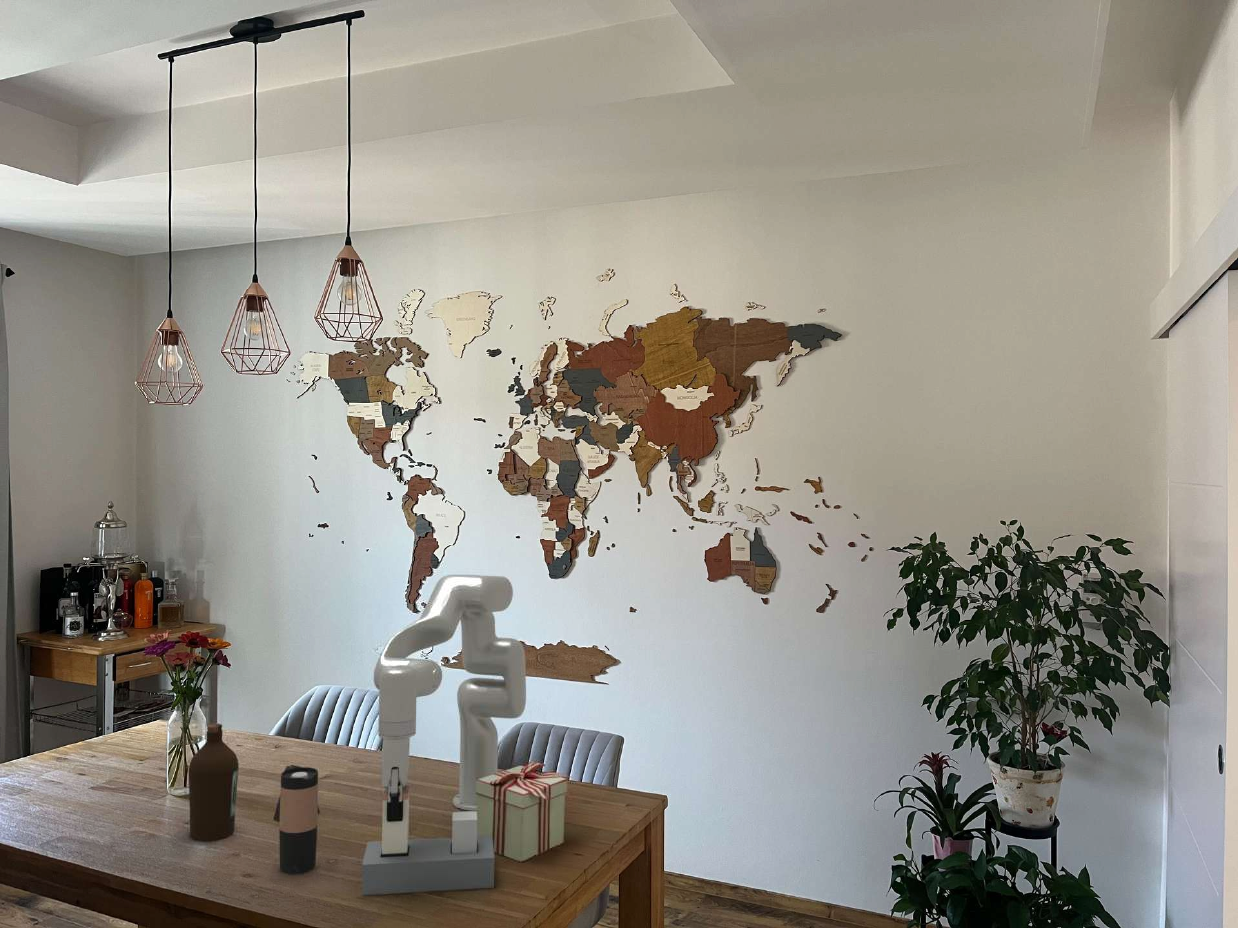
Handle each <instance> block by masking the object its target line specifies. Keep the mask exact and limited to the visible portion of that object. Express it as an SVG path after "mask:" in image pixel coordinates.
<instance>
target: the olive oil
mask: <svg viewBox="0 0 1238 928" xmlns="http://www.w3.org/2000/svg"><path fill="white" fill-rule="evenodd" d="M206 728H207V730H206V741H205V743H204V744H203V745H202V746H201V747H200V748H199V749H198V751H197V752H196V753H194V755H193V757H192V758H191V760H190V762H189V765H188V769H187V770H188V771H187V772H188V793H189V795H188V796H189V837H190V839H191V840H193V841H197V842H213V841H214V842H215V841H219V840H223V839H227V838H228V837H230V836H231V835H233V833H234V832H235V826H236V825H235V824H236V822H235V820H236V809H237V796H238V795H237V792H238V778H239V766H240V765H239V760H238V757H237V753H235V751H234V750H233V749H231V747H229V746H228V745H227V744H226V743H225V742H224V741H223V729H222V728H223V724H222V723H210V724H208V725H207V727H206Z"/></svg>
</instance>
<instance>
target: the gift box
mask: <svg viewBox="0 0 1238 928" xmlns="http://www.w3.org/2000/svg"><path fill="white" fill-rule="evenodd" d="M545 766H546V764H544V763H540V762H532V761H530V762H528V763H527V764H526V765H525V766H523V765H517V766H515V767H512V768H508V769H506V770H502V771H500V772H497V773H496V774H493V775H490V776H487V777H484V778H481V779H478V780H476V794H477V836H492V839H493V849H494V854H495V853H496V854H499V855H501V856H505V857H507V858H509V859H512V860H514V861H517V862H519V861H520V863H523V862H525V861H527V860H529V858H530V859H532V858H534V857H535V856H534V855H536V856H538V855H537V854H539V855H541V854H543V853H544V852H543V851H545V850H548V849H550V848H552V847H554V846H556V845H559V846H560V844H561V843H563V844H564V835H565V834H564V833H565V805H566V804H565V801H566V793H567V792H568V779H567V778H571V776H569V775H564V774H562V773H559V772H554V771H541V770H538V769H540V768H542V767H545ZM561 845H562V844H561ZM556 847H557V846H556ZM554 848H555V847H554ZM552 849H553V848H552ZM550 850H551V849H550ZM548 851H549V850H548ZM542 852H543V853H542ZM545 852H546V851H545ZM540 853H541V854H540ZM533 856H534V857H533ZM531 857H532V858H531ZM522 861H523V862H522Z"/></svg>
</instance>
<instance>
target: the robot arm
mask: <svg viewBox="0 0 1238 928" xmlns="http://www.w3.org/2000/svg"><path fill="white" fill-rule="evenodd" d="M513 596H514V590H513V585H512V582H511V580H510V579H508V577H505V576H503V575H502V576H501V575H500V576H499V575H479V574H478V575H477V574H447V575H445V576H443V577H441V578H440V579H439V580H438V581H437V582H436V584H435V587H434V588H433V591H432V592H431V594H430V596H429V599H428V601H427V603H426V605H425V607H424V609H423V611H422V613H421V615H420V617H419V619H417V620H415V621H414V622H412V623H410V624H408V625H407V626H406V627H404V628H402V630H400V631H399V632H397V633H395V634H394V635H393V636H392V637H391V638H390V639H389V640H388V641H387V642H386V644H385V646H384V647H383V650H382V651H381V654H380V655H379V658H378V659H377V662H376V664H375V668H374V670H373V684H374V686H375V688H376V689H377V690H378V694H379V695H378V730H377V731H378V733H377V735H378V737H379V738H381V739H382V752H381V754H382V755H381V780H380V787H381V788H382V789H384V787H387V786H388V801H387V822H397V821H402V820H403V801H402V788H403V787H404V786H406V782H407V780H408V773H409V772H408V771H409V765H410V764H409V762H410V745H411V744H410V741H411V739H410V738H412V737H414V736H415V735H416V734H417V732H416V731H417V698H421V697H426V696H429V695H432V694H434V693H435V692H436V691H437V690H438V689H439V688H440V685H441V683H442V680H443V671H442V667H441V666H440V664H439V663H437V662H436V661H434V660H430V659H425V658H424V659H422V658H421V659H420V658H408V657H409V656H411V655H413V654H415V653H417V652H419V651H422V650H426V649H429V648H433V647H435V646H438V645H441V644H444V643H447V642H448V641H450V640H451V639H452V638H453V637H454V634H455V632H456V630H457V628H458V626H459V623H460V625H461V626H460V627H461V628H460V630H461V657H462V658H461V659H462V665H463V669H464V670H465V671H466V672H467V673H469V674H471V675H472V674H473V675H481V676H493V677H494V676H496V677H502V678H501V679H500V678H491V677H490V678H489V677H471V678H468V679H466V680H465V679H464V680H463V681H462V682H461V683H460V685H459V686H458V689H457V693H456V699H457V700H456V701H457V707H458V715H459V729H460V730H459V731H460V734H459V735H460V738H459V739H460V740H459V741H460V742H459V785H458V786H459V788H458V789H459V791H458V794H456V795H455V796H454V797H453V799H452V805H454V807H455V808H457V809H459V808H460V809H461V810H463V811H477V794H476V780H478V779H481V778H484V777H487V776H490V775H493V774H496V773H498V753H499V752H498V750H499V749H498V748H499V747H498V746H499V745H498V744H499V743H498V742H499V734H498V729H497V727H496V724H495V723H494V721H493V719H494V718H495V719H496V718H497V719H499V718H500V719H509V720H510V719H517V718H519V717H521V716H522V715H523V713H524V712H525V709H526V701H527V681H526V680H527V679H526V677H527V672H526V669H527V668H526V654H525V653H526V651H525V649H524V646H523V644H522V643H521V641H519V640H518V639H515V638H513V637H512V638H509V637H498V636H497V635H496V620H495V616H494V613H497V612H504V611H505V610H507V609H508V608H509V607H510V605H511V603H512V601H513ZM492 718H493V719H492ZM398 789H399V791H398Z"/></svg>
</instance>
